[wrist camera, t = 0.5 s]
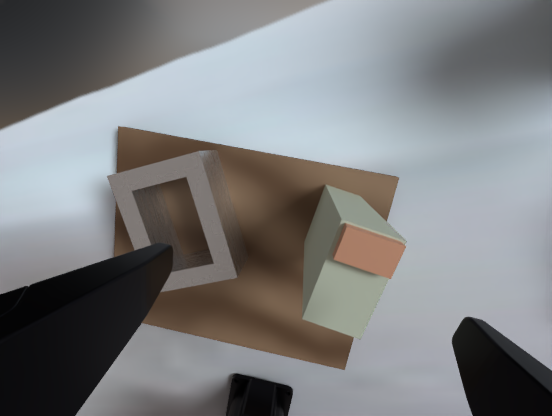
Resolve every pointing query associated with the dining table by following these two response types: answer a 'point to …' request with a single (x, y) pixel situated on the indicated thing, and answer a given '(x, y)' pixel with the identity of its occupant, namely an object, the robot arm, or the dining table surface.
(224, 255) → the keyed slot
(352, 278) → the keyed peg
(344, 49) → the dining table surface
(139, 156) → the walnut board
